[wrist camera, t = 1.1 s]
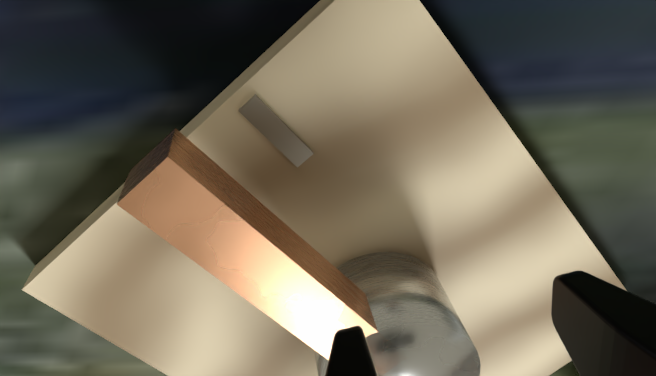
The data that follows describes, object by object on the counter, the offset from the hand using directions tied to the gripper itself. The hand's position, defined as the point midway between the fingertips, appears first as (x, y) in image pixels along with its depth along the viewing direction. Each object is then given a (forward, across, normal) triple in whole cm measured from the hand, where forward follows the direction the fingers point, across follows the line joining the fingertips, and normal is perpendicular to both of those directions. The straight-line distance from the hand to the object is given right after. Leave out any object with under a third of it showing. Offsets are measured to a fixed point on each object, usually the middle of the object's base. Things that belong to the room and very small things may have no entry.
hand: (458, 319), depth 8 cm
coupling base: (+13, 0, +10) cm, 16 cm away
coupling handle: (+11, +2, +6) cm, 13 cm away
